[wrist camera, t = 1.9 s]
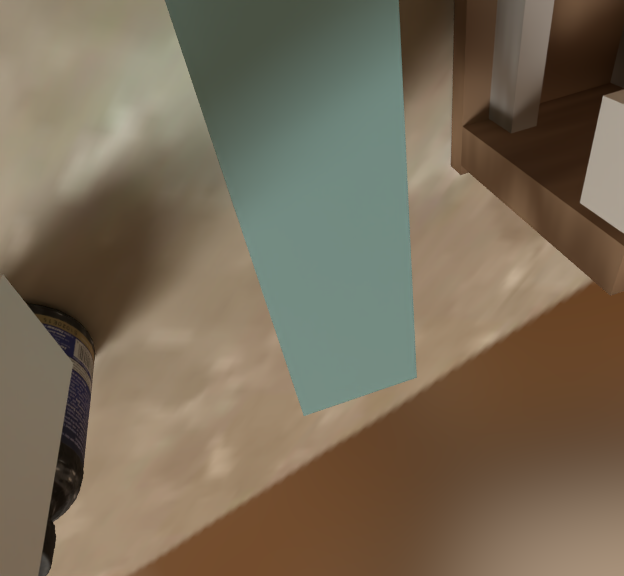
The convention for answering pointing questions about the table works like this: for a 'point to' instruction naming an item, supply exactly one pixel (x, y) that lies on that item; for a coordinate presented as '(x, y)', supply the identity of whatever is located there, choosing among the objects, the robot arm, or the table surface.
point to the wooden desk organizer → (539, 115)
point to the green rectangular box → (314, 177)
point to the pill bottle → (68, 419)
